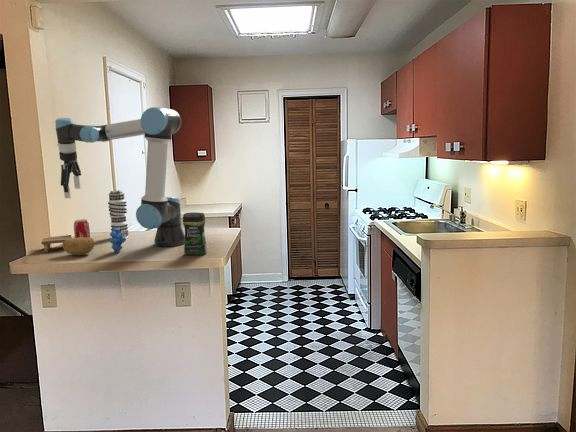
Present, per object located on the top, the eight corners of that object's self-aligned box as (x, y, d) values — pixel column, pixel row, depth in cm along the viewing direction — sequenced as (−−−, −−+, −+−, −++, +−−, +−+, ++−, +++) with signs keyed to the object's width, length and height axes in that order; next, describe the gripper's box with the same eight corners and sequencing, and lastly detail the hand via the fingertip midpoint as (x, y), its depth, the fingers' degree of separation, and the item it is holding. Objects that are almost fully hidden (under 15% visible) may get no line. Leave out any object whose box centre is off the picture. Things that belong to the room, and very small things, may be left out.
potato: (69, 252, 217) (68, 235, 216) (99, 252, 216) (97, 235, 215) (58, 257, 207) (56, 240, 206) (89, 257, 207) (87, 239, 205)
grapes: (123, 255, 209) (121, 228, 207) (108, 255, 209) (105, 229, 207) (130, 249, 220) (128, 224, 219) (115, 249, 220) (113, 224, 218)
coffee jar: (182, 256, 204) (179, 214, 201) (188, 251, 212) (185, 211, 209) (204, 256, 203) (201, 213, 200) (209, 251, 211) (206, 211, 208)
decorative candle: (122, 240, 243) (118, 191, 239) (107, 239, 245) (103, 191, 241) (133, 236, 251) (129, 190, 247) (117, 235, 254) (113, 190, 250)
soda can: (85, 245, 232) (82, 221, 230) (72, 245, 233) (69, 221, 231) (93, 242, 239) (91, 219, 237) (81, 242, 240) (78, 219, 238)
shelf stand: (71, 250, 222) (70, 239, 221) (42, 253, 218) (41, 242, 217) (72, 245, 233) (71, 234, 232) (45, 247, 229) (44, 237, 228)
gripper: (69, 144, 234) (74, 184, 242) (48, 158, 211) (55, 202, 219) (84, 144, 235) (89, 184, 243) (66, 158, 212) (71, 202, 220)
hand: (73, 193), depth 231 cm, fingers open, 13 cm apart
